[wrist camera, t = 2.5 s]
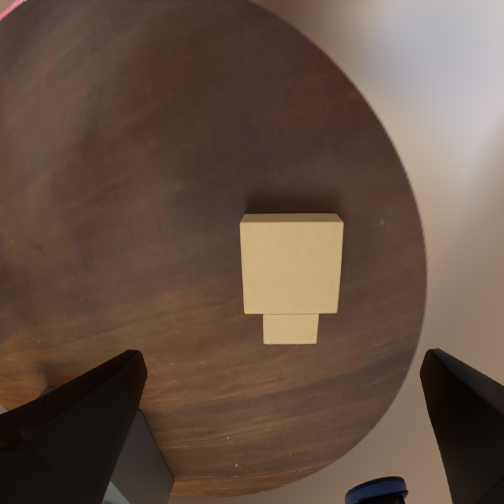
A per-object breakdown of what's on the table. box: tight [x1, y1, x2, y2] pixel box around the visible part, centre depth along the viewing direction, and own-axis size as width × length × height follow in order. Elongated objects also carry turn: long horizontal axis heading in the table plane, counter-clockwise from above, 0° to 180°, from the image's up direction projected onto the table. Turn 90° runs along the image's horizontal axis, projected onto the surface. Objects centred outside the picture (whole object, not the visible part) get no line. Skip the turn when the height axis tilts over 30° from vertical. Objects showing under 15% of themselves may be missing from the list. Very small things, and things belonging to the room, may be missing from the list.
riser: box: [38, 386, 174, 504], centre depth 22 cm, size 12×14×8 cm
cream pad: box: [240, 213, 344, 344], centre depth 16 cm, size 5×7×2 cm
